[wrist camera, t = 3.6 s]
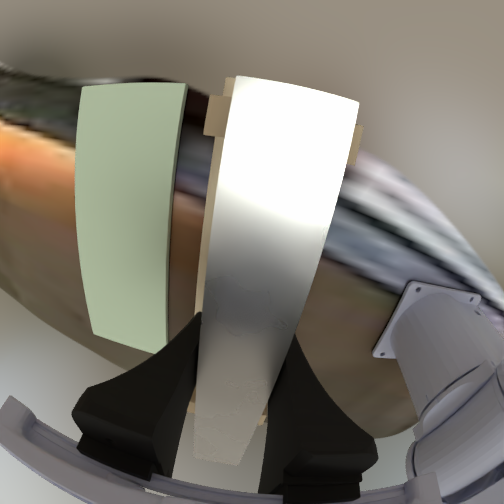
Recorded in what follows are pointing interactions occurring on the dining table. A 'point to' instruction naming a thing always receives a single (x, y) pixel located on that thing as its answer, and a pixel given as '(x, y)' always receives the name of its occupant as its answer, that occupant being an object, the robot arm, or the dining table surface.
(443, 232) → the dining table surface
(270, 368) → the rail
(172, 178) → the mat
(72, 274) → the dining table surface
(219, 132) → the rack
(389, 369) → the dining table surface
